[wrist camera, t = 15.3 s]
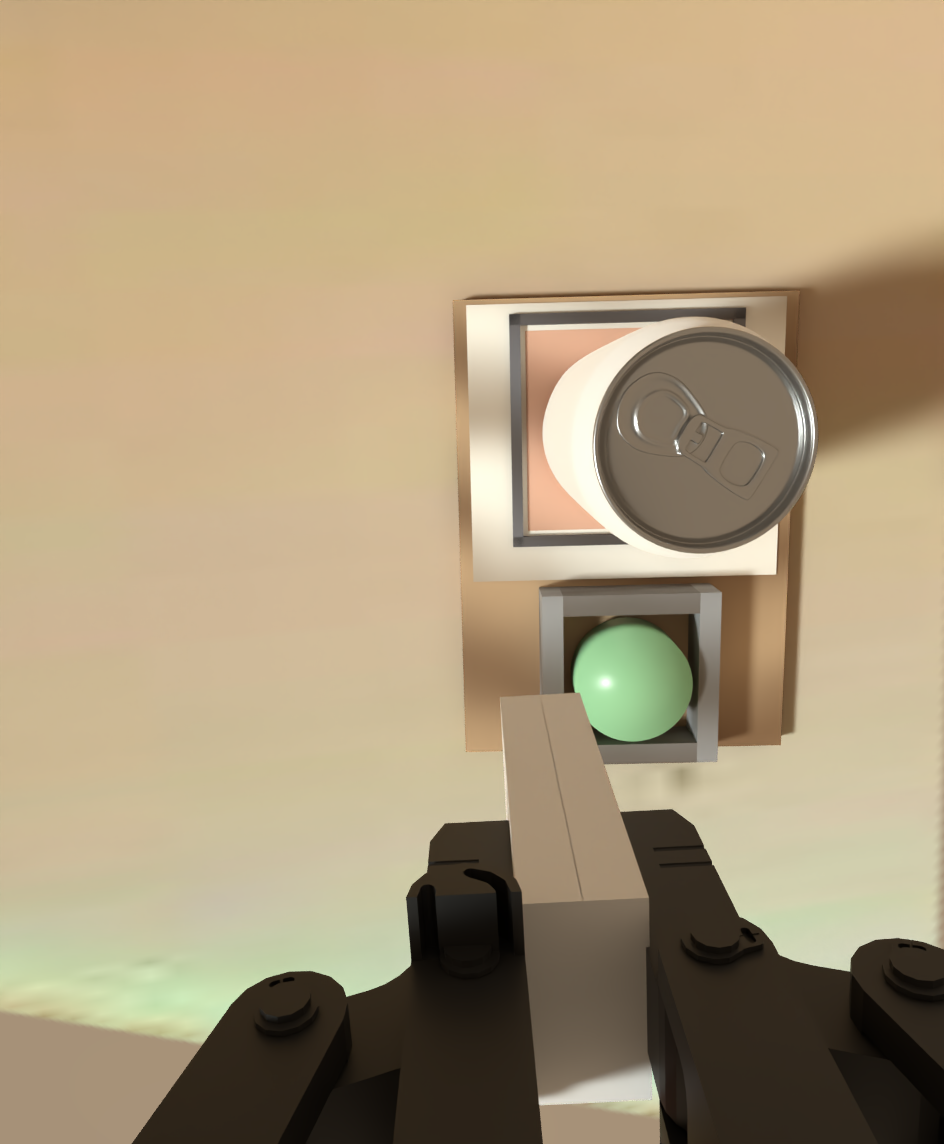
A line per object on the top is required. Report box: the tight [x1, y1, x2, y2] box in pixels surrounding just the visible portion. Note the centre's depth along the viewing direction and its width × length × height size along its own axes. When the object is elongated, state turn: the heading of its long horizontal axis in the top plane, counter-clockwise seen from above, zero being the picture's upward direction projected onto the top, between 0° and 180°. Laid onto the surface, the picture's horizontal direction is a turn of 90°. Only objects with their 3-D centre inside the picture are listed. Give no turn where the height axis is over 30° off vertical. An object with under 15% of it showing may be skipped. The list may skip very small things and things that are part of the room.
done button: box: [571, 617, 693, 742], centre depth 34 cm, size 4×4×2 cm
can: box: [542, 317, 818, 558], centre depth 27 cm, size 6×6×12 cm
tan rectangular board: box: [453, 290, 800, 764], centre depth 34 cm, size 18×13×3 cm
